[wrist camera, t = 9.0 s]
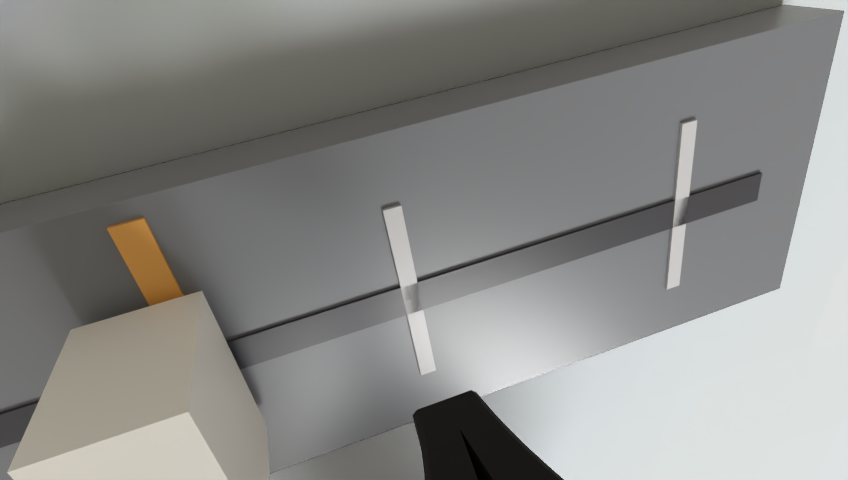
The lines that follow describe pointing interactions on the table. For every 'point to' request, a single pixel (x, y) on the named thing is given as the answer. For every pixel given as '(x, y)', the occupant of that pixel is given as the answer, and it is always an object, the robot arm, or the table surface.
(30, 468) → the fader tab
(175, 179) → the console
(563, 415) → the table surface
